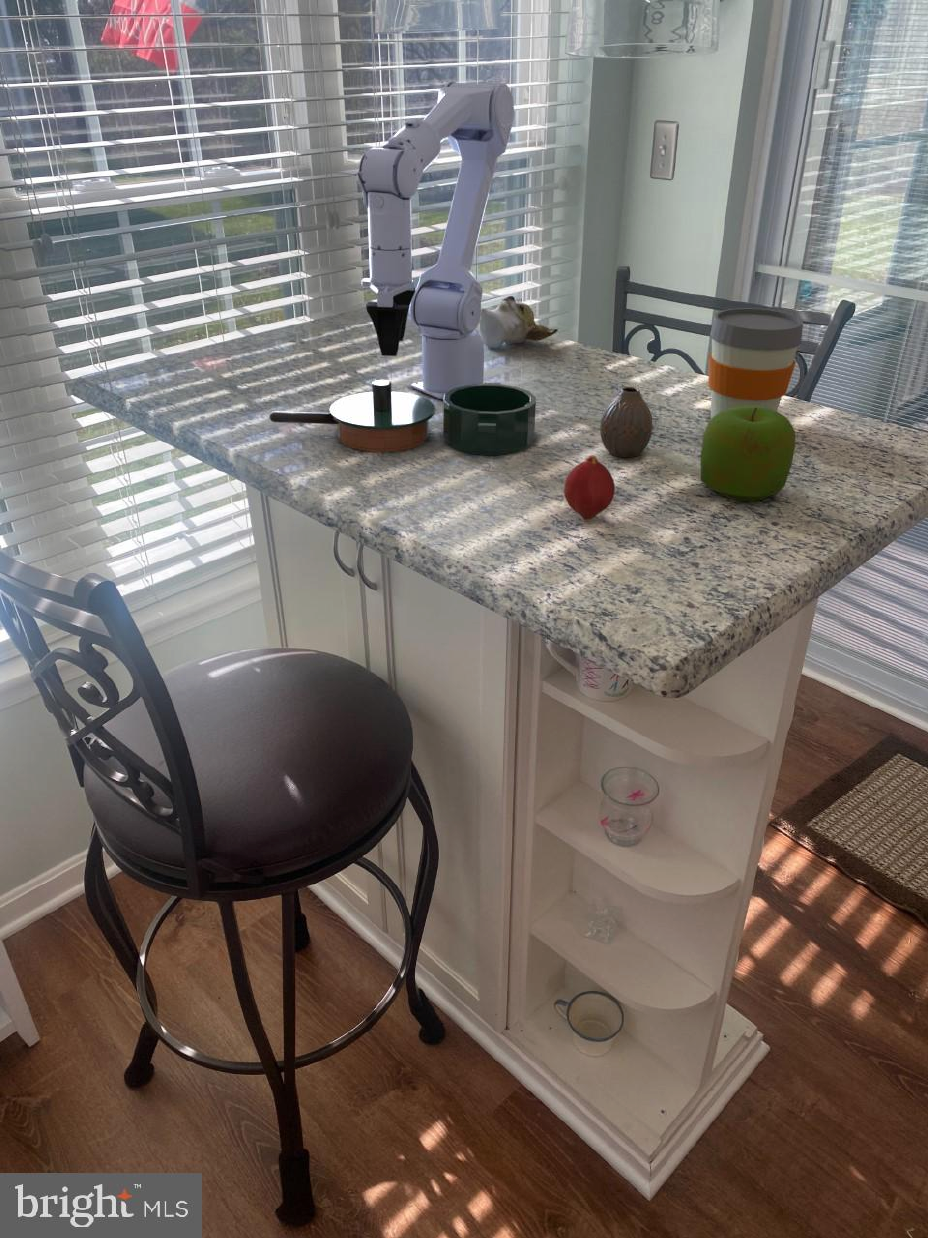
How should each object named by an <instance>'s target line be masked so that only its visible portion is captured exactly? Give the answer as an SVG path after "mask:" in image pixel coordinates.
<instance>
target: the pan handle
mask: <svg viewBox="0 0 928 1238" xmlns="http://www.w3.org/2000/svg"><path fill="white" fill-rule="evenodd" d="M269 420H270V421H271V422H272V423H283V424H284V423H286V424H287V423H288V424H317V425H318V424H319V425H337V421H335V420H334V419H333V418H332V417H331V415H330V412H307V411H306V412H305V411H278V410H277V411H275V410H274V411H271V412H270V414H269Z"/></svg>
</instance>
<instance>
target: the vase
mask: <svg viewBox="0 0 928 1238" xmlns="http://www.w3.org/2000/svg"><path fill="white" fill-rule="evenodd" d="M653 424H654V423H653V417H652V412H651V410H650V408H649V406H648V404H647V403H646V401H645V400H644V398H643V396H642V394H641V391H640V389H639V388H637V387H634V386H624V387H622V388H621V389H620V390H619V392H618V394H617V395H616V396H615V397H614V398H613V399H612V400H611V401H610V403H609V404H608V405H607V406H606V408H605V409H604V411H603V414H602V417H601V420H600V438H601V442H602V445H603V446H604V448H605V449H606V451H607V452H608V453H610V455H612V456H615V457H619V458H633V457H636V456H638V455H639V454H641V453H642V452H643V451H644V450H645V449H646V448H647V446H648V445H649V443H650V440H651V438H652V433H653V426H654V425H653Z"/></svg>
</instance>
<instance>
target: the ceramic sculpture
mask: <svg viewBox="0 0 928 1238" xmlns="http://www.w3.org/2000/svg"><path fill="white" fill-rule="evenodd" d="M558 331H559V328H548V327H547V326H545V325H543V324H537V323H536V322H535V314H534V311H533V309H532V308H531V307H530V306H529V304H527V303H525V302H522V301H516V299H515V297H514V296H513V295H508V296H507V297H504V298H502V299H501V300H500V301H499V302H498V305H497V307H496V308H495V309H492V310H490V309H486V308H482V307H481V316H480V320H479V323H478V325H477V332H478V333H479V335H480V336H481V338H482V341H483V345H484V346H486V347H487V348H490V349H499V348H501V347H502V346H503V345H504V344H505V343H506V344H511V345H513V344H519V343H523V342H525V341H533V342H534V341H536V342H537V341H543V340H544V339H548V338H549V337H551V336H553V335H554V334H556V333H557V332H558Z"/></svg>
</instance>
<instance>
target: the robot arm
mask: <svg viewBox="0 0 928 1238" xmlns="http://www.w3.org/2000/svg"><path fill="white" fill-rule="evenodd" d="M514 120H515V106H514V97H513V93H512V91H511V89H510V87H509V86H508V85H507V84H506V83H498V84H494V83H471V82H470V83H468V82H456V81H447V82H446V83H445V84H444V86H442V87H441V88H439V91H438V95H437V103H436V104H435V106H433V108H432V109H431V110H430V111H429V113H427V115H426V116H425V117H424V119H419V118H407V120H405V121H404V126H403V127H402V128H401V129H399V130H398V131H397V132H396V133H395V134H394V135H393V136H391V137H389V139H387V141H386V143H384V145H382V146H381V147H371V148H370V149H368V150H367V152H364V153H363V155H362V156H361V158H360V160H359V165H358V172H356V177H357V183H358V186H359V189H360V191H361V193H362V199H363V203H362V204H363V206H364V209H366V210H367V219H368V221H367V223H368V249H369V250H368V251H369V254H368V255H369V278H368V277H364V278H362V280H361V286H362V287H368V288H370V289H371V291H373V292H374V293H375V295H376V301H367V302H366V304H365V310H366V312H367V314H368V316H369V318H370V319H371V321H372V324H373V327H374V330H375V335H376V338H377V342H378V347H379V351H380V354H381V356H386V357H387V356H388V357H397V355H398V353H399V352H398V351H399V348H400V342H403V340H404V338H405V333H406V328H407V320H408V314H409V315H410V320H411V322H412V324H413V325H414V326H415V327H417V333H418V334H421V357H422V358H421V367H422V368H421V369H422V370H421V371H422V381H419V382H414V383H411V384H410V387H411V388H412V389H415V390H417V391H419V392H422V393H424V394H425V395H429V396H431V397H433V398H436V399H438V400H444V396H445V394H446V393H447V392H449V391H450V390H452V389H454V388H458V387H462V386H466V385H475V384H484V375H485V374H484V373H485V372H484V371H485V344H484V343H483V341H482V338H481V336H480V335H479V333H478V330H476V329H477V328H478V323H479V320H480V316H481V309H482V298H483V292H484V290H483V288H482V285H481V284H480V282H479V281H478V280H477V278H476V277H475V276H474V275H473V273H472V272H471V269H472V265H473V262H474V258H475V253H476V249H477V245H478V241H479V236H480V232H481V229H482V224H483V220H484V216H485V211H486V208H487V205H488V200H489V196H490V191H491V187H492V184H493V180H494V174H495V171H496V166H497V162H498V158H499V157H500V156H502V155H503V154H504V153H506V151H507V146H508V143H509V140H510V136H511V131H512V127H513V123H514ZM446 139H447V140H448V142H449V146H450V147H451V149H452V151H454V152H456V153H457V154H458V155H459V156H460V158H461V164H460V168H459V172H458V175H457V181H456V184H455V188H454V193H453V197H452V202H451V204H450V210H449V213H448V217H447V222H446V226H445V230H444V231H445V232H444V234H443V237H442V243H441V246H440V251H439V255H438V259H437V262H436V263H435V264H434V265H433V266H431V267H429V268H428V269H426V270H425V271H424V272H422V273H420V275H419V279H418V282H417V285H416V287H414V280H413V261H412V259H413V258H412V256H413V255H412V254H413V253H412V251H413V250H412V249H413V248H412V197H413V196H415V195H416V194H417V192H418V188H419V184H420V180H421V179H422V177H423V174H424V172H425V170H426V169H428V167H429V166H431V165H432V163H433V162H434V161H436V160H437V158H438V157H439V155H440V153H441V147H442V144H441V143H442V142H443V141H445V140H446Z"/></svg>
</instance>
